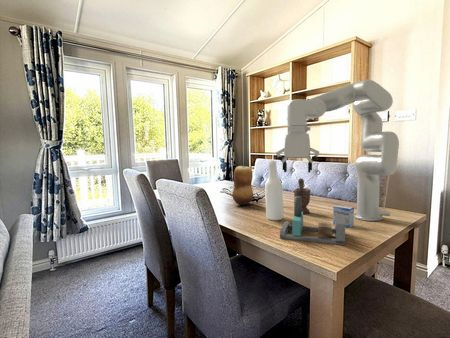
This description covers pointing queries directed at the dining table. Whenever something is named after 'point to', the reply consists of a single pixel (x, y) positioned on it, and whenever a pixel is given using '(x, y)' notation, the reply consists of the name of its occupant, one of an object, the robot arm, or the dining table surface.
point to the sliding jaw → (297, 216)
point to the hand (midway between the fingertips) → (297, 172)
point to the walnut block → (324, 230)
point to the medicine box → (344, 214)
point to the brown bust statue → (303, 195)
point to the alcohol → (273, 194)
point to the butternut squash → (242, 185)
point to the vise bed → (338, 231)
